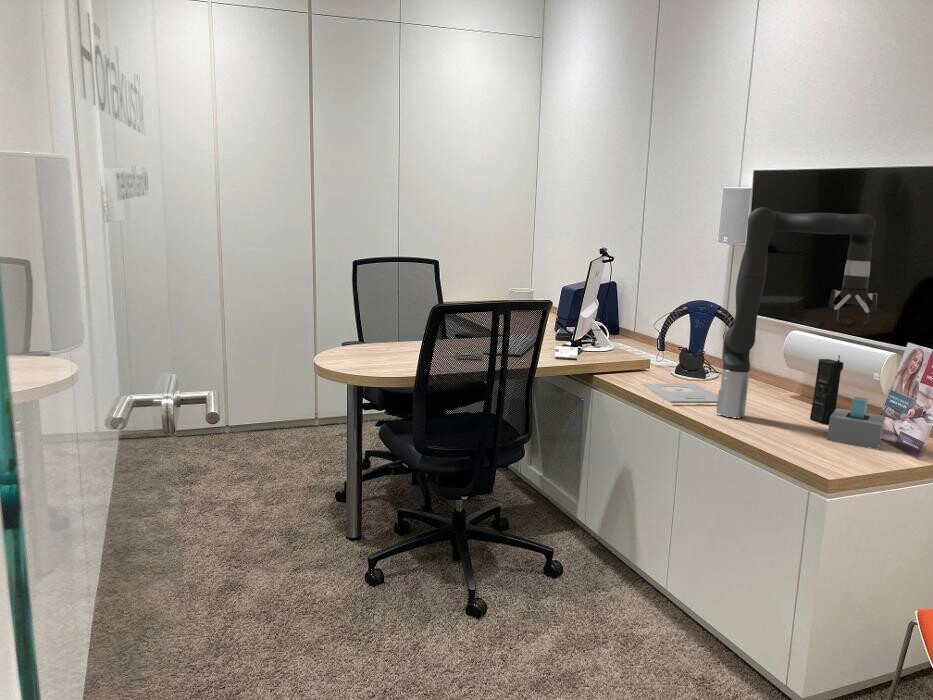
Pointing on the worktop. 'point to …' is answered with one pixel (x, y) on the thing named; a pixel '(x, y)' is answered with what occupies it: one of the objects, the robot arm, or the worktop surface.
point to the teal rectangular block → (858, 408)
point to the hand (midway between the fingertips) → (850, 322)
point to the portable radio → (826, 390)
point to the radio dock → (855, 429)
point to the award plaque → (683, 393)
